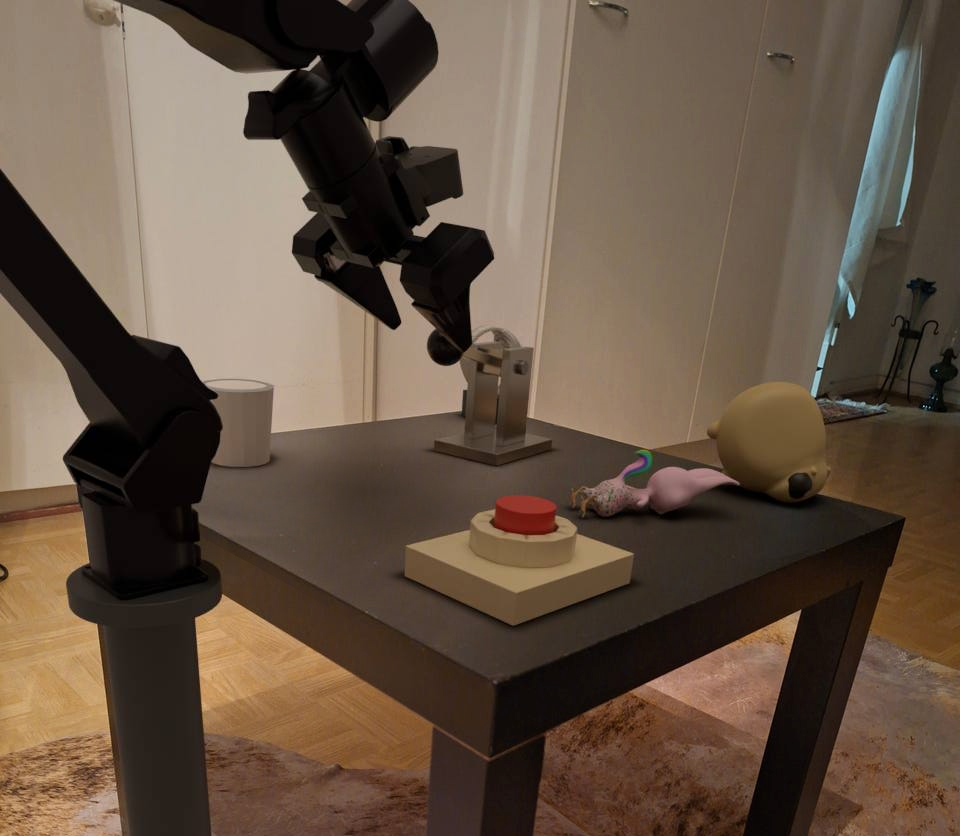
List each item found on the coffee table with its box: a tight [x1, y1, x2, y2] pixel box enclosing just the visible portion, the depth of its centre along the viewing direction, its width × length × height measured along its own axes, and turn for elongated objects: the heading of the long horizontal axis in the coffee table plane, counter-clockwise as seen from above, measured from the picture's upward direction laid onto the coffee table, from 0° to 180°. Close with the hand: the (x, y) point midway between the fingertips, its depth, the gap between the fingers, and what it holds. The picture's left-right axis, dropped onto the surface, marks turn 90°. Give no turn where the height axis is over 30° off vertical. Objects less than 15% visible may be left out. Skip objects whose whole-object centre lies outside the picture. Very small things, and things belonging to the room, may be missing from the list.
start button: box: [494, 494, 557, 535], centre depth 57 cm, size 4×4×2 cm
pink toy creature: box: [569, 449, 740, 519], centre depth 75 cm, size 6×6×15 cm
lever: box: [426, 328, 503, 378], centre depth 85 cm, size 13×4×4 cm, turn 145°
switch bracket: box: [433, 341, 553, 467], centre depth 91 cm, size 11×8×11 cm
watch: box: [458, 324, 523, 425], centre depth 107 cm, size 6×8×11 cm
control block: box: [404, 508, 635, 627], centre depth 58 cm, size 12×10×4 cm
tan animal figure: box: [706, 381, 832, 504], centre depth 84 cm, size 10×12×11 cm
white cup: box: [202, 378, 275, 468], centre depth 81 cm, size 7×7×7 cm
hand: (430, 336), depth 74 cm, fingers open, 9 cm apart
